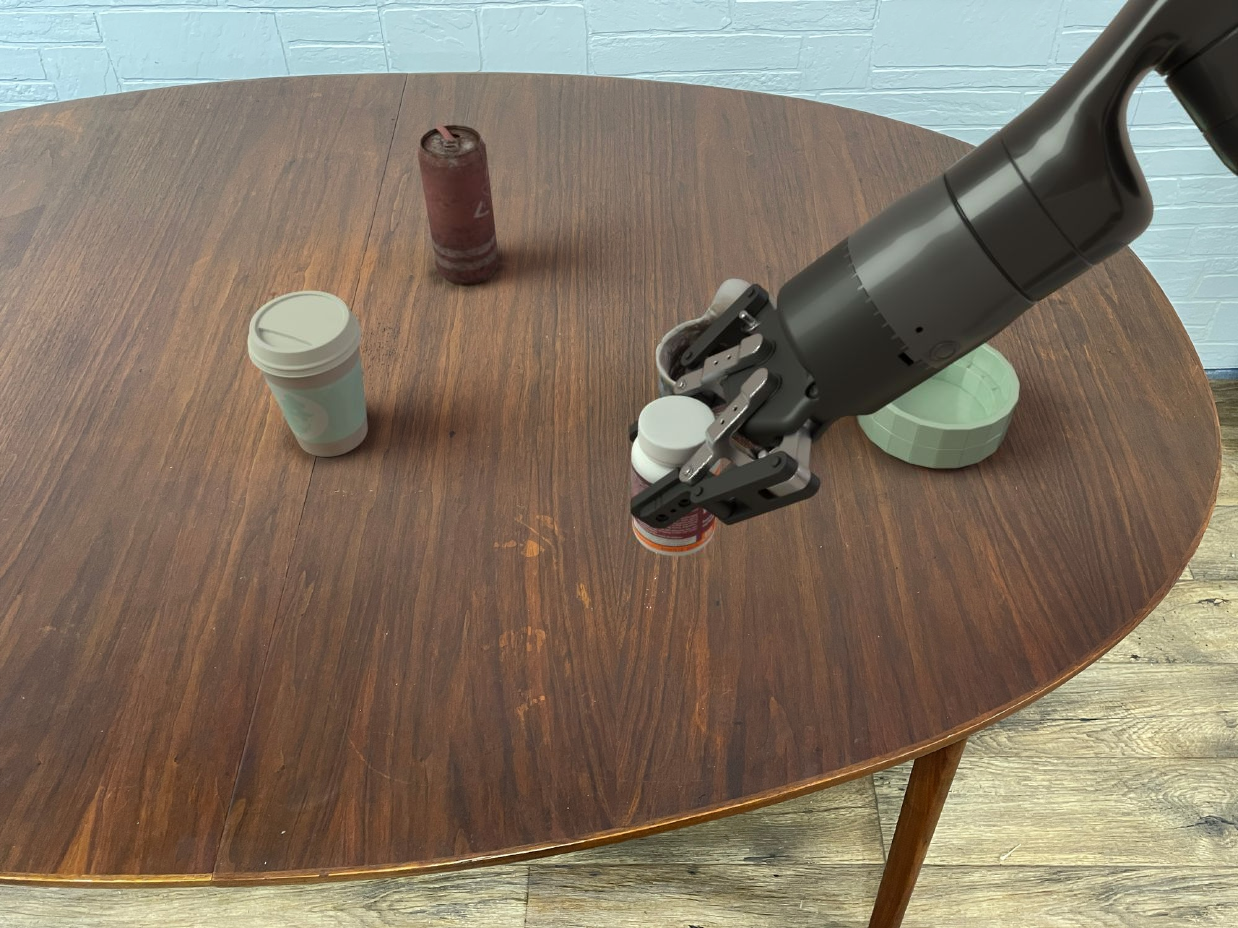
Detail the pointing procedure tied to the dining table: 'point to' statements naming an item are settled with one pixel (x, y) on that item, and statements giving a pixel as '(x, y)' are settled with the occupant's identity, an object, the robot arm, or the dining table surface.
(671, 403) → the pill bottle
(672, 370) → the mug
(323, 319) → the coffee cup
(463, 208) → the can
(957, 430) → the bowl
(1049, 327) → the dining table surface
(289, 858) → the dining table surface
